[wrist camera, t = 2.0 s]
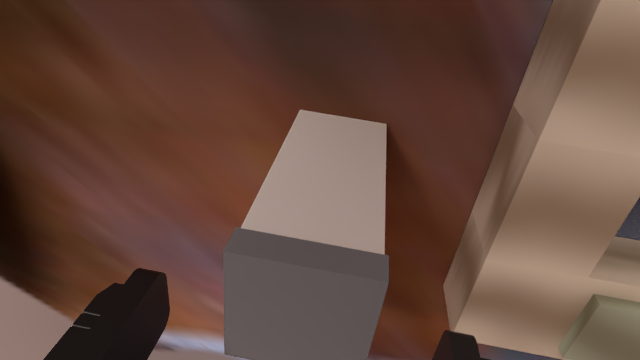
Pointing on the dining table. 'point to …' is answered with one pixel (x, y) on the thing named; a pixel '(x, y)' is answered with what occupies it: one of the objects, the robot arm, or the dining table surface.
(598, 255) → the socket block
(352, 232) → the plug
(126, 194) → the dining table surface
